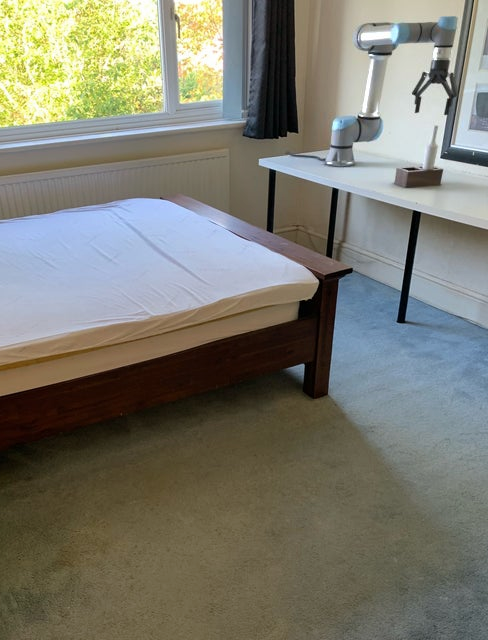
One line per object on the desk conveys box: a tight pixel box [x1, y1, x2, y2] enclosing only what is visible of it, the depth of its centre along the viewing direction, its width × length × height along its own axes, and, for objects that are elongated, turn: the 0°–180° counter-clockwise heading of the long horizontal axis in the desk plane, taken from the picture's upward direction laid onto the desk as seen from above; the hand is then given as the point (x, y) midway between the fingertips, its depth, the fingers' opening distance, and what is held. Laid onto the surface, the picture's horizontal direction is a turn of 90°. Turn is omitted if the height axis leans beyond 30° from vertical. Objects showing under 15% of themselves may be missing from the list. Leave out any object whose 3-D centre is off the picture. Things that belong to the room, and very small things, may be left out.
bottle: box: [422, 125, 439, 170], centre depth 271 cm, size 5×5×25 cm
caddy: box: [394, 165, 444, 189], centre depth 275 cm, size 10×18×7 cm, turn 104°
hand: (431, 113), depth 263 cm, fingers open, 13 cm apart
